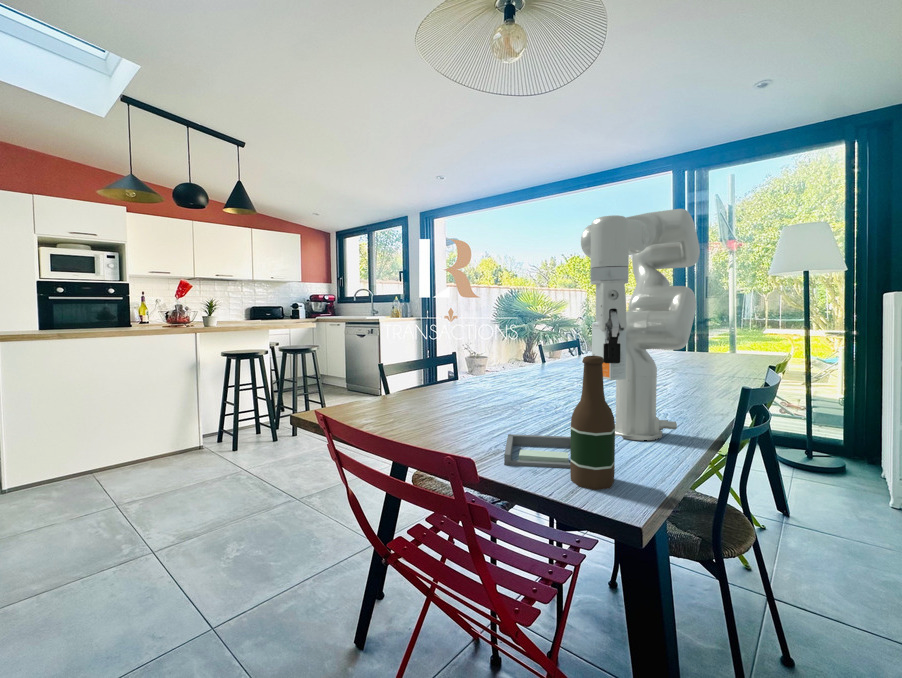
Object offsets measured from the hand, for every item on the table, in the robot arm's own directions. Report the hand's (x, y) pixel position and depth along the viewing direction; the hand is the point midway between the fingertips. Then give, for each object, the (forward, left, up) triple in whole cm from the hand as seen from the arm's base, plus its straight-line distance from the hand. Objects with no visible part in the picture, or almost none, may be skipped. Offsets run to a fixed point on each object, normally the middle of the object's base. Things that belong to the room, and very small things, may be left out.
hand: (608, 360), depth 93 cm
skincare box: (0, 0, -4) cm, 4 cm away
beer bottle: (+5, +16, -22) cm, 27 cm away
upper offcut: (+14, +6, -21) cm, 26 cm away
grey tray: (+14, +2, -21) cm, 26 cm away
